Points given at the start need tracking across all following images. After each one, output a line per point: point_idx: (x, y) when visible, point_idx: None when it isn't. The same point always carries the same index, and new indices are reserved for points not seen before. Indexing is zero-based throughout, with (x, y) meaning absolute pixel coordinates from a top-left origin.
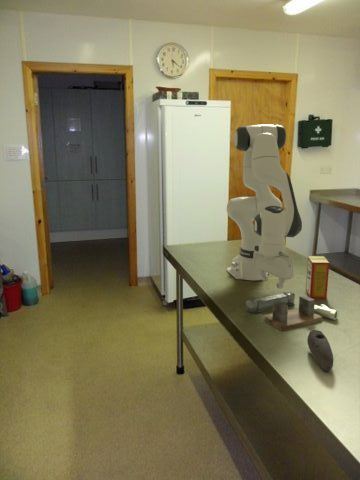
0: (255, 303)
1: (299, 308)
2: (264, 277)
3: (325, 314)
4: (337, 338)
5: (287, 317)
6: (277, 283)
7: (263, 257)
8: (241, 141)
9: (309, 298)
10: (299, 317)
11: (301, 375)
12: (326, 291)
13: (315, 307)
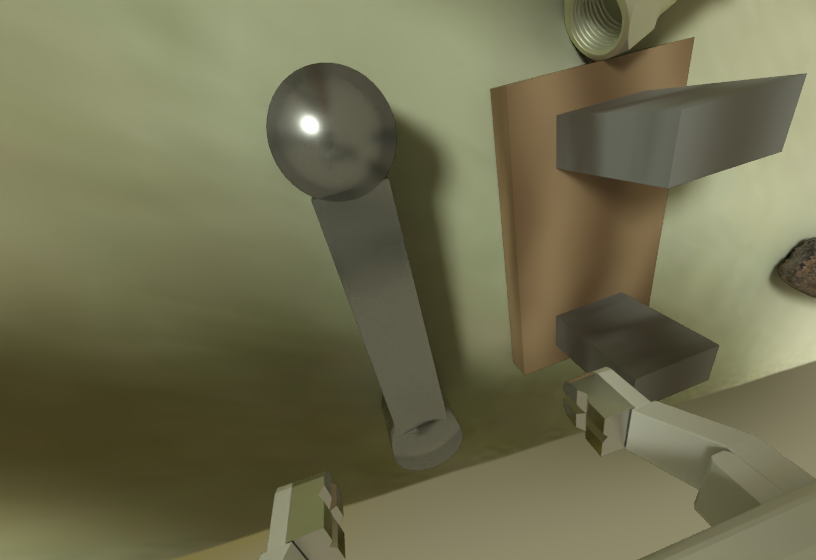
0: (458, 432)
1: (579, 169)
2: (342, 551)
3: None
4: (807, 97)
5: (589, 274)
6: (611, 452)
7: None
8: None
9: (758, 112)
10: (620, 207)
11: (801, 336)
12: None
13: (645, 21)
